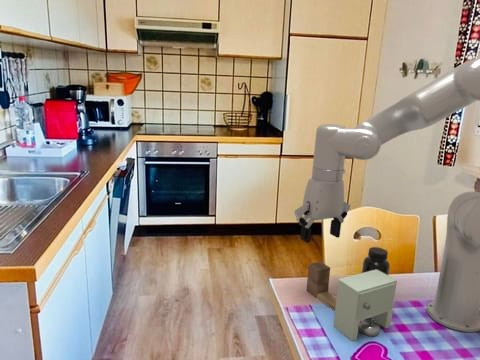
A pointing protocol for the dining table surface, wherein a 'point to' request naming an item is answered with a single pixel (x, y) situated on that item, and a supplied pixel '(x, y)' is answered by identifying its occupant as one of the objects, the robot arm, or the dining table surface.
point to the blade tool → (320, 284)
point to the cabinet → (364, 301)
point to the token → (368, 328)
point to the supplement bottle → (376, 261)
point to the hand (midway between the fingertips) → (320, 238)
